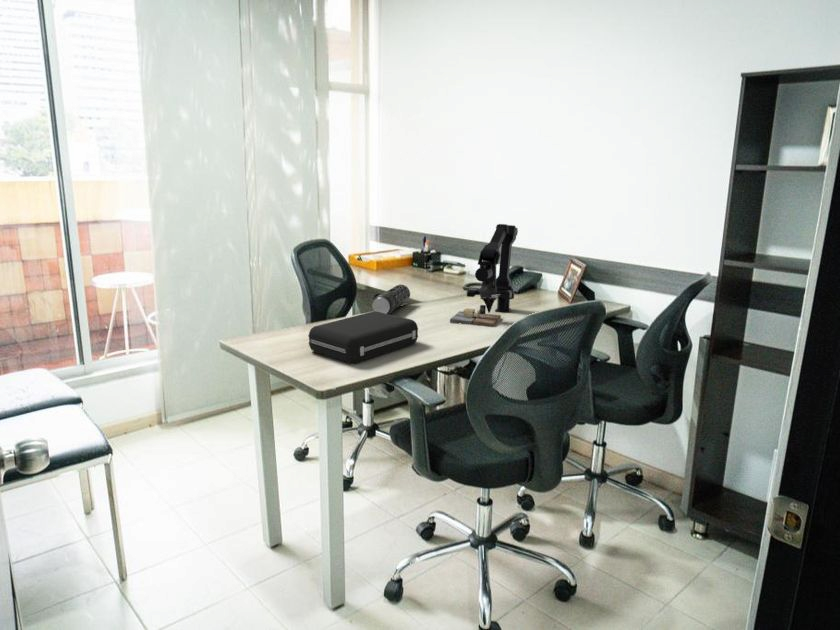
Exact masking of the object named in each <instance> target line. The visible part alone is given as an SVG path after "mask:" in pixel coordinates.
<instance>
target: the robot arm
mask: <svg viewBox="0 0 840 630" xmlns="http://www.w3.org/2000/svg"><path fill="white" fill-rule="evenodd" d="M518 230H519V229H518V227H516V225H511V224H507V223H506V224H505V223H498V224H496V226H495V230H494V233H493V235H492V237H491V239H490V242H489V243H487V244H485V245H484V246H483V248H482V249H481V250H480V254H479V258H478V261H477V266H478V265H479V268H477V269H476V270H475V273H474V277H475V279H476V280H477V281H478V282H480V283H481V286H480V289H479V288H477V287H470V288H469V289H468V290H467V291H466V298H467V297H468V298H471V297H472V298H474V297H476V296H479V298H480V300H482V302H484V305H486V309H487V314H490V313H491V311H492V308H493V306H494V303H495V301H497V303H496V307H497V308H496V309H495V310H494V312H501V313H510V312H511V311H512V308H511V305H510V304H511V303H510V302H511V301H510V300H514V299H515V291H514V287H513V283H512V280H511V278H510V269H511V268H510V267H511V257H512V247H513V244H514V243H515V241H516V239H517V237H518V236H517V235H518V233H519V231H518ZM498 265H499V270H498V277H497V266H498Z"/></svg>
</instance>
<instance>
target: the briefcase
mask: <svg viewBox="0 0 840 630" xmlns="http://www.w3.org/2000/svg"><path fill="white" fill-rule="evenodd" d="M418 331H419V326H418V324H417V322H416V321H414V320H413V319H411V318H405V317H402V316H399V315H398V316H397V315H392V314H385V313H381V312H377V311H374V310H372V311H370V312H366V313H362V314H357V315H354V316H350V317H345V318H342V319H338V320H333V321H330V322H327V323H323V324H319V325H314V326H313V327H312V328H311V329H309V332H308V335H307V336H308V340H309V341H308V345H309V346H308V347H309V348H310V349H311V351H312V352H314V353H317V354H320V355H323V356H326V357H329V358H332V359H336V360H338V361H342V362H344V361H345V362H346V363H348V364H351V363H354V364H358V363H361V362H363V361H367V360H370V359H373V358H376V357H378V356H382V355H385V354H388V353H391V352H393V351H397V350H399V349H400V350H401V349H403V348H406V347H410V346H412V345H414V344H415V343H417V340H418V338H419V335H418V334H419V332H418ZM357 362H358V363H357Z"/></svg>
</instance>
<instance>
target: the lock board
mask: <svg viewBox="0 0 840 630" xmlns="http://www.w3.org/2000/svg"><path fill="white" fill-rule="evenodd" d="M463 314H464V311H461V310H460V311H458V312H457V313H456V314H455V315H453V316H451V317H450V319H449V323H450V322H452V323H451V324H459V323H461V324H462V325H469V324H470V326H471V325H472V326H479V327H480V326H481V327H490V328H493V327H495V325H496V324H497V323H498V322H499V321H500V319H501V317H502V315H501V314H494V313H493V314H492V313H491V314H490V313H485V318H481V317H479V318H478V319H477V317H473V318H467V317H463Z"/></svg>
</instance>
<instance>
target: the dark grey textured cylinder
mask: <svg viewBox="0 0 840 630" xmlns="http://www.w3.org/2000/svg"><path fill="white" fill-rule="evenodd" d="M410 297H411V291H410V289H409V287H408V286H407V285H404V284H397V285H395V286H393V287H392V288H390V289H389V290H387V291H385V292H383V293H380V294H379V295H377V296H375V298H374V299H373V301H372V311H377V312H381V313H385V314H389V315H391V313H392V312H394V311H395V310H397V309H398V308H399V307H401V306H402V305H403V304H405V303H406V302H408V301H409V300H410Z"/></svg>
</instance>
